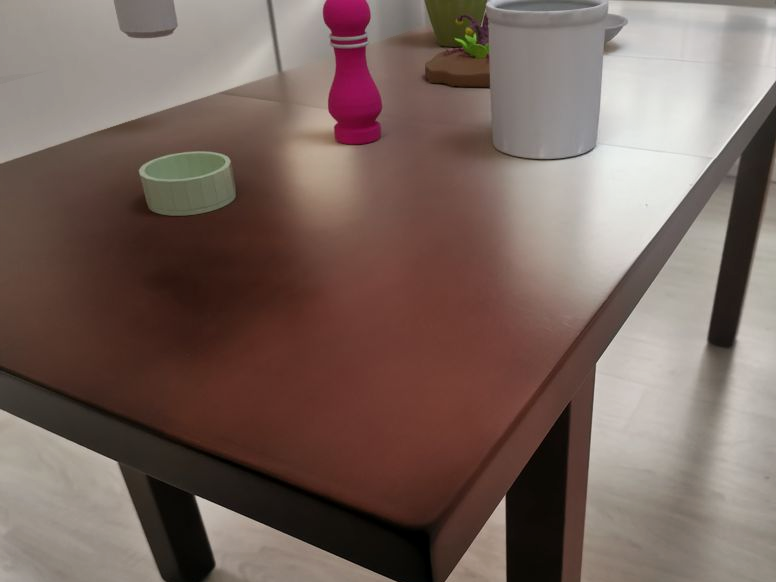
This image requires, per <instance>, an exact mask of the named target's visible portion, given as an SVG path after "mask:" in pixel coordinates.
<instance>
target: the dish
mask: <svg viewBox="0 0 776 582" xmlns="http://www.w3.org/2000/svg"><path fill="white" fill-rule="evenodd" d="M628 23H629V19H628V18H627V17H625V16H622V15H619V14H614V13H607V15H606V17H605V37H604V44H606V43H608V42H610V41H611V40H613V39H614V38H615V37H616V36H618V34H619V33H620V32H621V30H623V28H624V27H625V26H627V25H628Z"/></svg>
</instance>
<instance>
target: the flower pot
mask: <svg viewBox="0 0 776 582" xmlns="http://www.w3.org/2000/svg"><path fill="white" fill-rule="evenodd" d="M423 1H424V4H425V8H426V11H427V14H428V19H429V22H430V24H431V27H432V31H433V34H434V36H435V38H436V40H437V43H438V45H440V46H442V47H446V48H447V47H448V48H463V47H462V45H461V44H460V43H459V42H457V41H456V40H455V38H457V39H461V40H463V41H465V42H466V43H467V44H468V42H467V39H466V38H465V35H467V34H466V32H465V31H466V28H467V27H468V26H470V25H471V24H472V22H471V20H469V19H467V18H465V17H463V24H462V25H461V26H458V25H456V19H457V17H459V16H461V15H463V14H468V15H470V16H471V17H473V18H474V19H475V20H477V22H478V23H479V25H480V26H481V27H482V23H483V19H484V15H485V12H486V3H487V2H488V0H423ZM475 33H476V32H475V27H474V31H473V34H472V35H470V37H472V38H473V36H474V34H475ZM468 45H469V44H468Z"/></svg>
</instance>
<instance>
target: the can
mask: <svg viewBox="0 0 776 582" xmlns="http://www.w3.org/2000/svg"><path fill="white" fill-rule="evenodd" d="M113 5H114V10H115V14H116V18H117V23H118V28H119V30H120V32H123V34H125V35H126V36H127V37H129V38H132V39H154V38H163V37H168V36H172V35H173V34H174V31H176V29H177V28H178V27H179V23H178V17H177V13H176V7H175V1H174V0H113Z"/></svg>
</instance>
